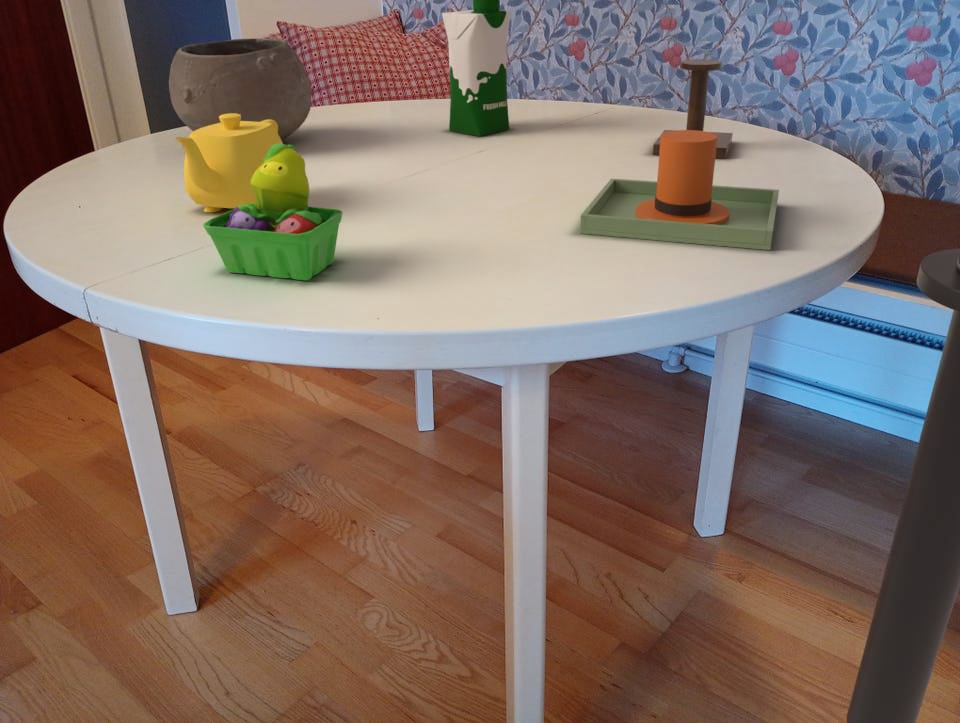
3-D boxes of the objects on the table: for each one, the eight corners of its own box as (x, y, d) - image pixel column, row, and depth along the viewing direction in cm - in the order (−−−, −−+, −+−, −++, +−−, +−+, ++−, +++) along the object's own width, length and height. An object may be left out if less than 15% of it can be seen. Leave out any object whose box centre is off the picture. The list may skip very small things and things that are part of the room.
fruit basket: (207, 276, 78) (185, 157, 73) (258, 246, 86) (241, 136, 81) (312, 288, 75) (297, 165, 70) (356, 256, 82) (345, 142, 77)
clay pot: (319, 153, 122) (307, 46, 115) (173, 164, 119) (151, 54, 112) (314, 126, 141) (303, 32, 134) (187, 135, 137) (169, 38, 130)
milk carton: (480, 138, 129) (476, -1, 120) (440, 131, 134) (434, -2, 125) (517, 129, 134) (517, -4, 125) (477, 122, 140) (474, -6, 131)
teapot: (233, 234, 89) (216, 134, 84) (152, 225, 93) (131, 129, 88) (319, 190, 104) (309, 103, 99) (247, 184, 108) (233, 99, 103)
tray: (776, 206, 93) (779, 189, 92) (770, 250, 81) (773, 231, 80) (610, 194, 99) (610, 178, 98) (579, 233, 87) (580, 215, 86)
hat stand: (731, 143, 122) (741, 57, 116) (725, 158, 114) (735, 67, 108) (663, 139, 125) (670, 56, 119) (652, 154, 117) (659, 66, 111)
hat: (689, 197, 96) (697, 122, 92) (748, 220, 88) (759, 139, 84) (617, 210, 92) (622, 132, 88) (672, 235, 84) (679, 151, 80)
